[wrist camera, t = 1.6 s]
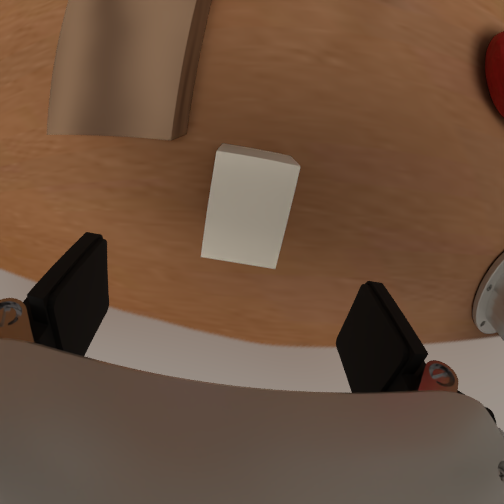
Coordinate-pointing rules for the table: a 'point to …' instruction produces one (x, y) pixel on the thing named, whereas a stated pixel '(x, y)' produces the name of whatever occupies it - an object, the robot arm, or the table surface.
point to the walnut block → (126, 67)
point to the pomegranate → (496, 71)
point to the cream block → (249, 205)
